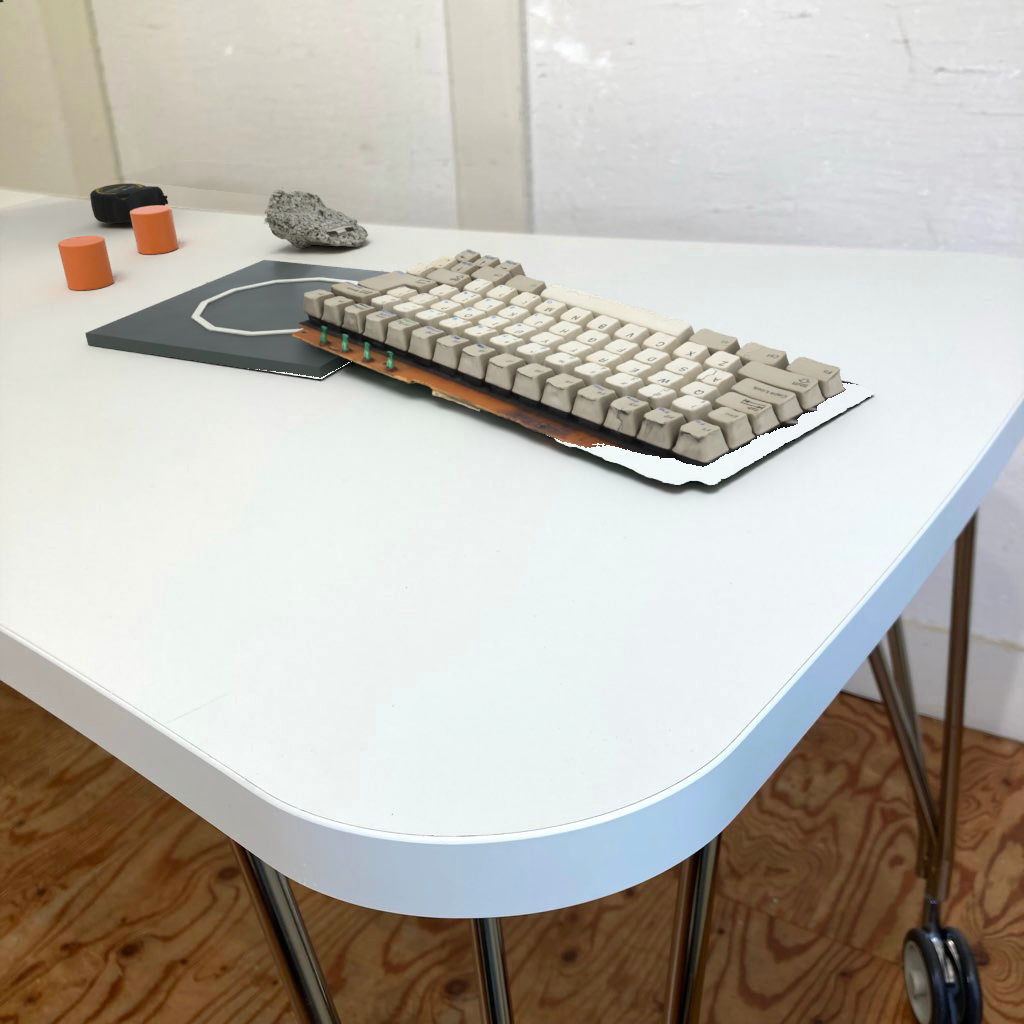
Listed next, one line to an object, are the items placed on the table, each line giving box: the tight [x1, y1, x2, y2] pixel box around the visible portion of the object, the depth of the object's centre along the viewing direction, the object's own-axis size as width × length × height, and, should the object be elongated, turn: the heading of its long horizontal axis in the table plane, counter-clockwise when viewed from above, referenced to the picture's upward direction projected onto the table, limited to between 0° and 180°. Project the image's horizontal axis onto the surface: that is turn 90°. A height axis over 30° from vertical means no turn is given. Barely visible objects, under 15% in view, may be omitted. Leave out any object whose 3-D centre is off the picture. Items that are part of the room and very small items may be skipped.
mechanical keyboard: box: [292, 248, 859, 467], centre depth 72 cm, size 38×19×3 cm, turn 46°
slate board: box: [85, 259, 392, 378], centre depth 86 cm, size 22×22×1 cm
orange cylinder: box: [57, 235, 115, 291], centre depth 97 cm, size 4×4×4 cm
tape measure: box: [89, 183, 169, 225], centre depth 119 cm, size 7×7×4 cm
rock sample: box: [263, 187, 369, 249], centre depth 106 cm, size 10×8×9 cm
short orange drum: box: [130, 205, 179, 255], centre depth 107 cm, size 4×4×4 cm
